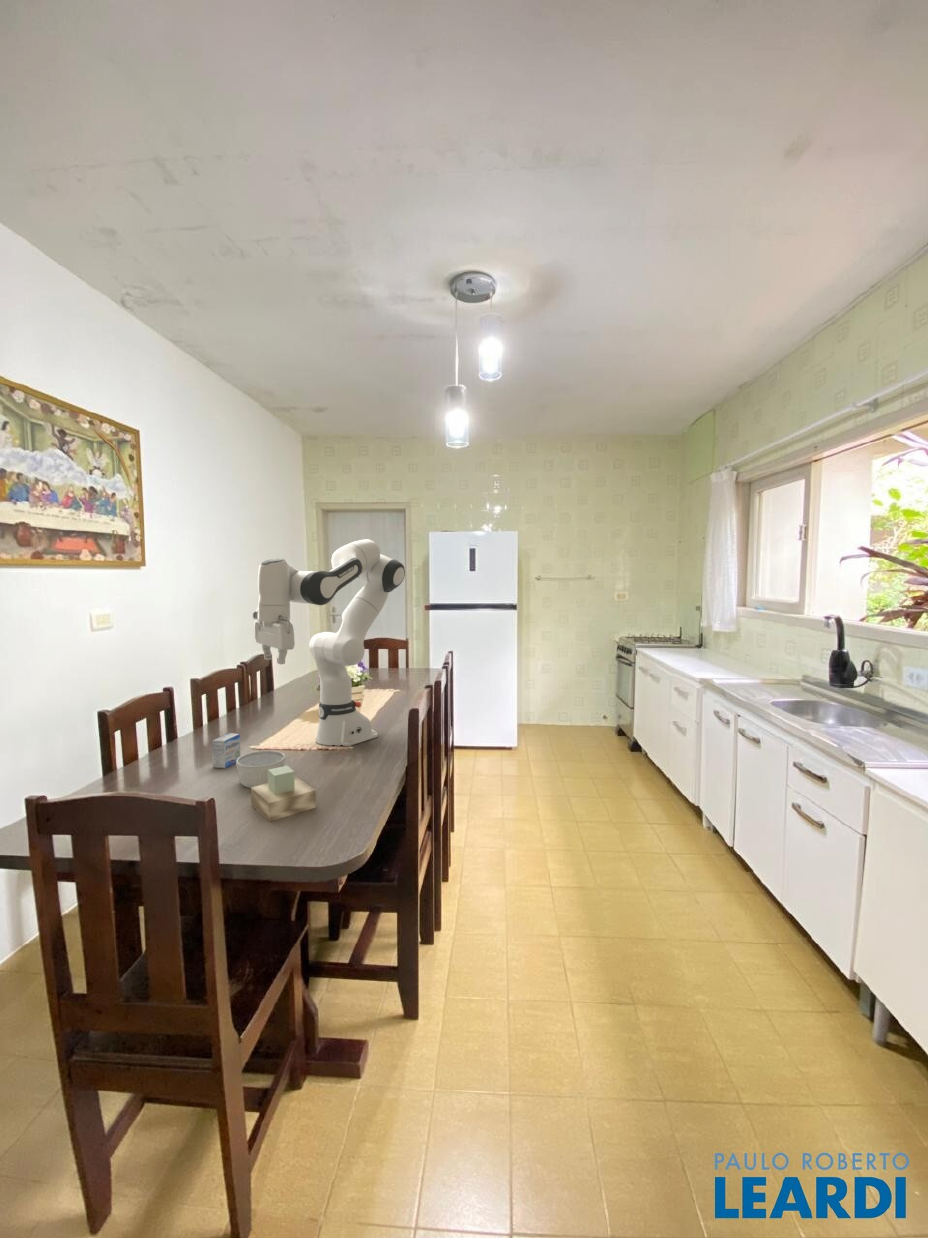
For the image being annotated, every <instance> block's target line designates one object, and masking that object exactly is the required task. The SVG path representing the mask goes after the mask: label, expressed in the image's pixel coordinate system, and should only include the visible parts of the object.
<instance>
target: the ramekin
mask: <svg viewBox="0 0 928 1238" xmlns="http://www.w3.org/2000/svg"><path fill="white" fill-rule="evenodd" d="M285 762H286V754H285V753H283V752H281V751H278V750H271V749H268V750H267V749H266V750H255V751H252V752H248V753H245V754H243V755H240V757H239V758H238V759H237V760H236V763H235V766H236V768H237V774H238V775H237V776H238V781H239V783H240V784H241V785H242V786H243V787H245V788H248V789H251V787H255V786H259V785H263V784H267V783H268V770H269V769H274V768H278V767H283V766H285Z"/></svg>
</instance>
